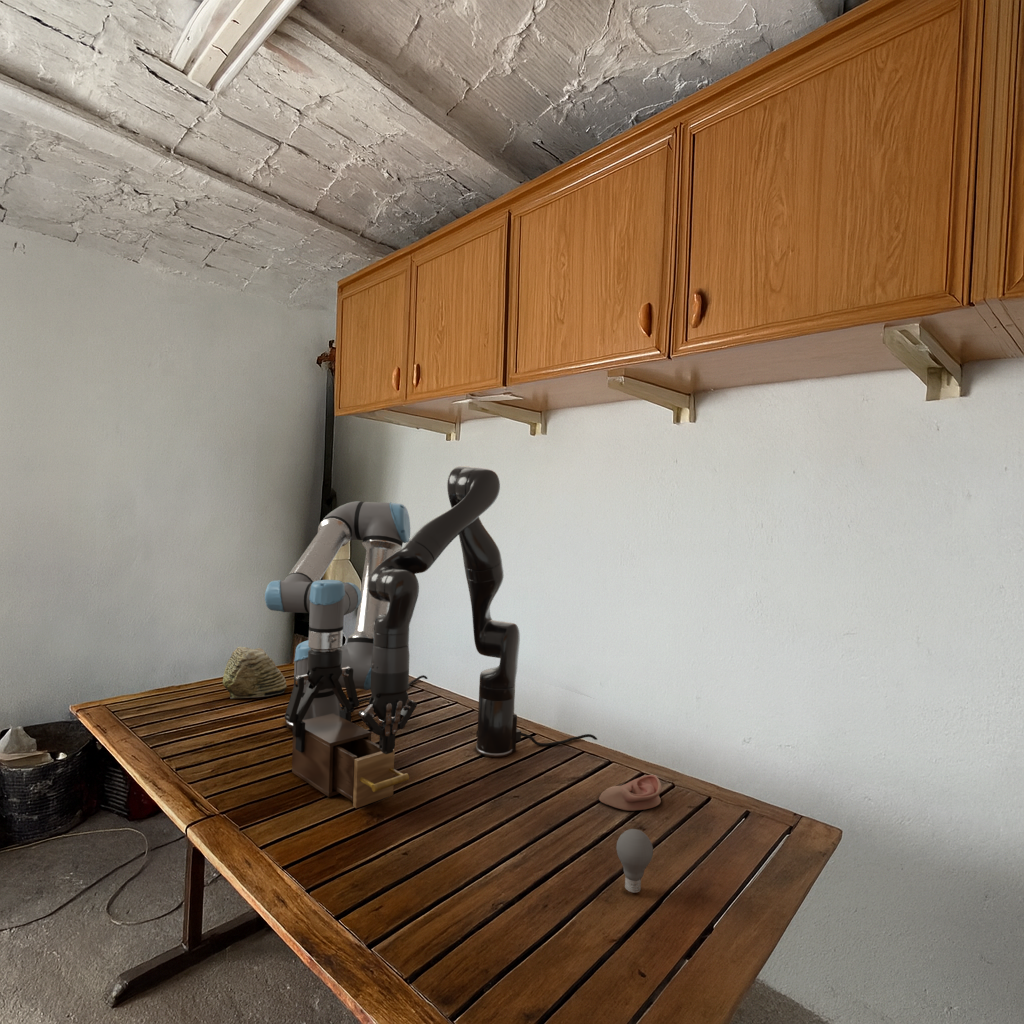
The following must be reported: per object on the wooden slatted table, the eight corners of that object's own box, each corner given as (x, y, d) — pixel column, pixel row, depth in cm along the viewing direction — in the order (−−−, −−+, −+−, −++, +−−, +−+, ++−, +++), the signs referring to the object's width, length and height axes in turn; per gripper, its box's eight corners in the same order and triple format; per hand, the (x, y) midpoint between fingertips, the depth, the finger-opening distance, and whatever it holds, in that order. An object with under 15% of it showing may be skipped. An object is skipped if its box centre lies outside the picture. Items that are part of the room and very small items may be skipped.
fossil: (218, 695, 195) (220, 647, 195) (278, 685, 208) (279, 640, 207) (228, 703, 189) (230, 653, 188) (289, 692, 201) (290, 645, 201)
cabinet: (370, 783, 140) (371, 732, 140) (328, 797, 133) (330, 743, 133) (331, 760, 152) (333, 713, 152) (291, 772, 145) (293, 722, 145)
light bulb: (610, 879, 108) (613, 822, 108) (644, 879, 109) (647, 822, 109) (619, 902, 102) (622, 840, 102) (655, 901, 103) (658, 840, 103)
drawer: (410, 805, 129) (411, 758, 129) (372, 819, 123) (374, 770, 123) (353, 771, 144) (355, 729, 144) (317, 783, 138) (319, 739, 138)
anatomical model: (598, 788, 134) (602, 766, 145) (597, 806, 134) (601, 783, 146) (662, 796, 132) (661, 774, 143) (662, 815, 132) (660, 791, 143)
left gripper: (285, 658, 134) (282, 762, 135) (376, 644, 151) (373, 737, 151) (269, 651, 140) (266, 751, 140) (359, 639, 156) (356, 728, 156)
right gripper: (372, 676, 120) (368, 767, 120) (428, 665, 129) (424, 749, 129) (351, 668, 125) (347, 754, 125) (406, 658, 134) (403, 738, 135)
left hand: (322, 744), depth 145 cm, fingers closed on cabinet, 10 cm apart
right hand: (386, 752), depth 127 cm, fingers closed
